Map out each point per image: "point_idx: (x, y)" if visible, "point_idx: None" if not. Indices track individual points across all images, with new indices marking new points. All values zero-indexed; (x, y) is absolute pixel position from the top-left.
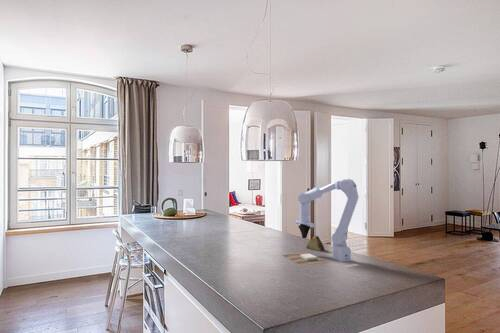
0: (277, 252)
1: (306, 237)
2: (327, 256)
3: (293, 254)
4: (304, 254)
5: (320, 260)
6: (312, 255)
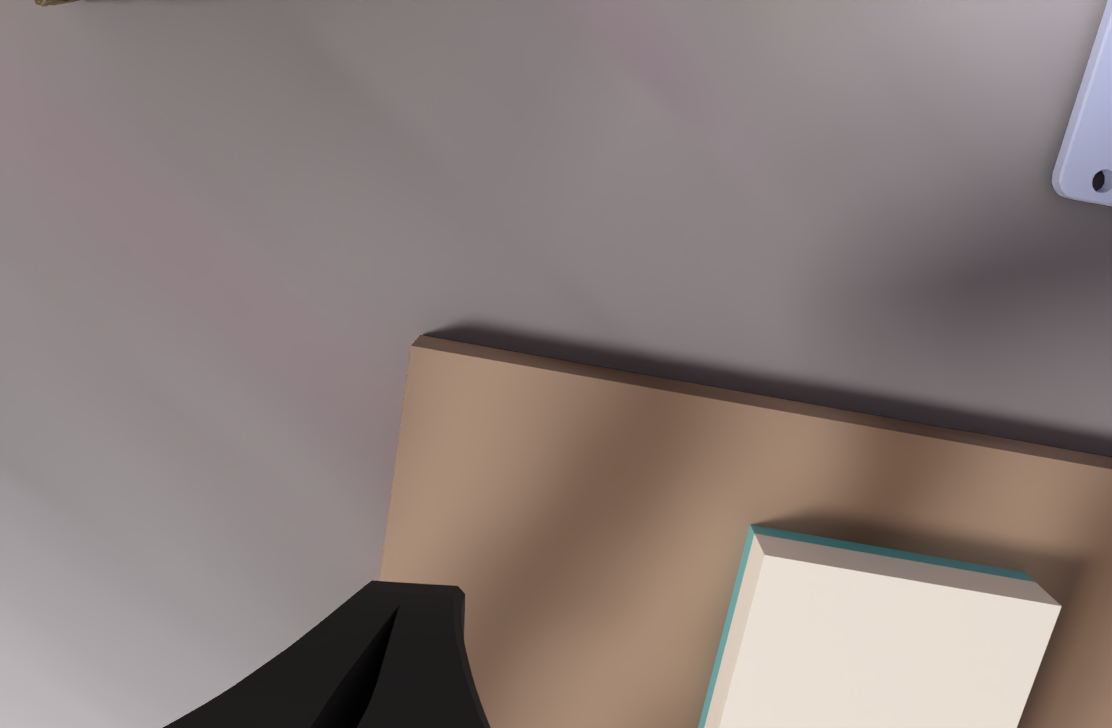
0: (26, 713)
1: (461, 607)
2: (840, 6)
3: None
4: (753, 694)
5: (1109, 547)
6: (921, 609)
